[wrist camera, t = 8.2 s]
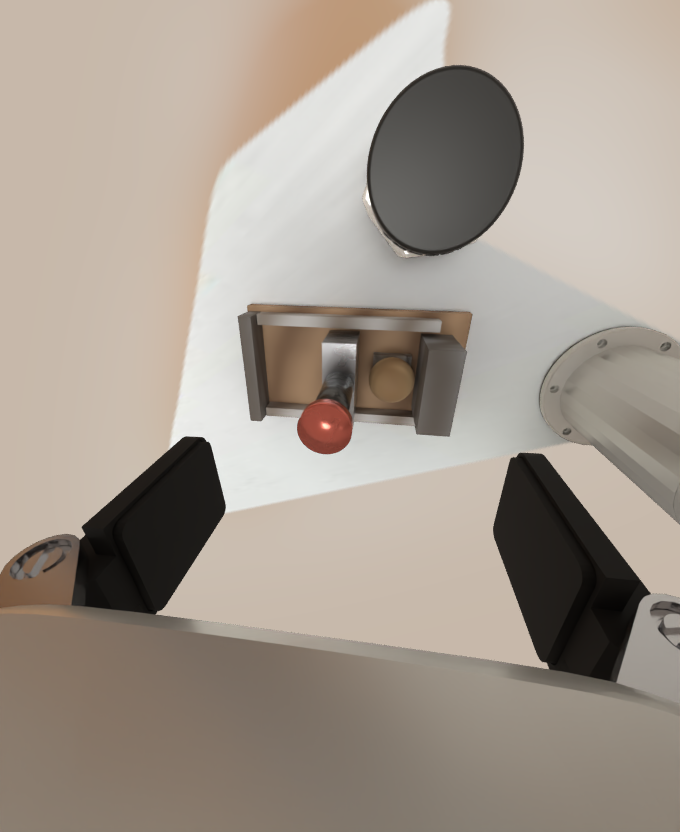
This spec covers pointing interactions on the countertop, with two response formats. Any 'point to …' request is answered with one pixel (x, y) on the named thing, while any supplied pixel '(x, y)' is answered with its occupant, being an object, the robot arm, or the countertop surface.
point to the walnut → (391, 379)
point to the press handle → (333, 396)
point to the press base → (379, 338)
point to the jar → (443, 161)
